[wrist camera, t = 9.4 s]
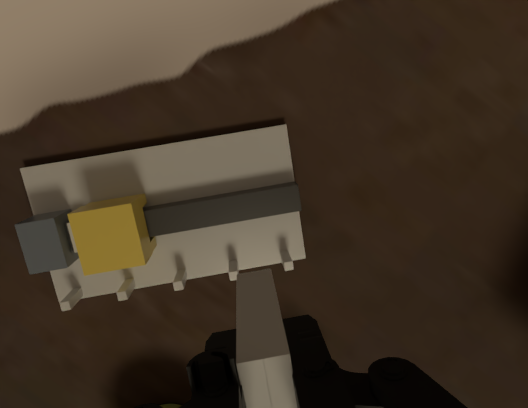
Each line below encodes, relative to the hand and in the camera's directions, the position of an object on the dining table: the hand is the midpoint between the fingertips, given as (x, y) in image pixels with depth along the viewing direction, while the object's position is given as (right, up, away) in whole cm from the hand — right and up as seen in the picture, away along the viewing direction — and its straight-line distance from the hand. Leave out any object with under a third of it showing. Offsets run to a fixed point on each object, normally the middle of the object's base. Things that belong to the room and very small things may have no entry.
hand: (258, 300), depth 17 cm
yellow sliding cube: (-13, +2, +19) cm, 23 cm away
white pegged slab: (-9, +3, +21) cm, 23 cm away
